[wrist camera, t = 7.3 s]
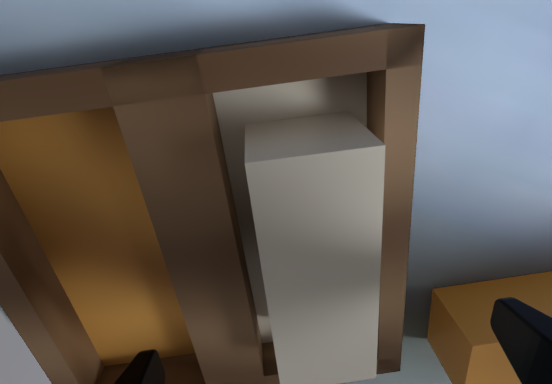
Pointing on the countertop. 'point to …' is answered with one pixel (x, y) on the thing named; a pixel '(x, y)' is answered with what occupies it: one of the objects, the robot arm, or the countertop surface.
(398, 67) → the slot board
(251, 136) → the off-white square pillar
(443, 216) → the countertop surface
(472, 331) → the tall amber prism
